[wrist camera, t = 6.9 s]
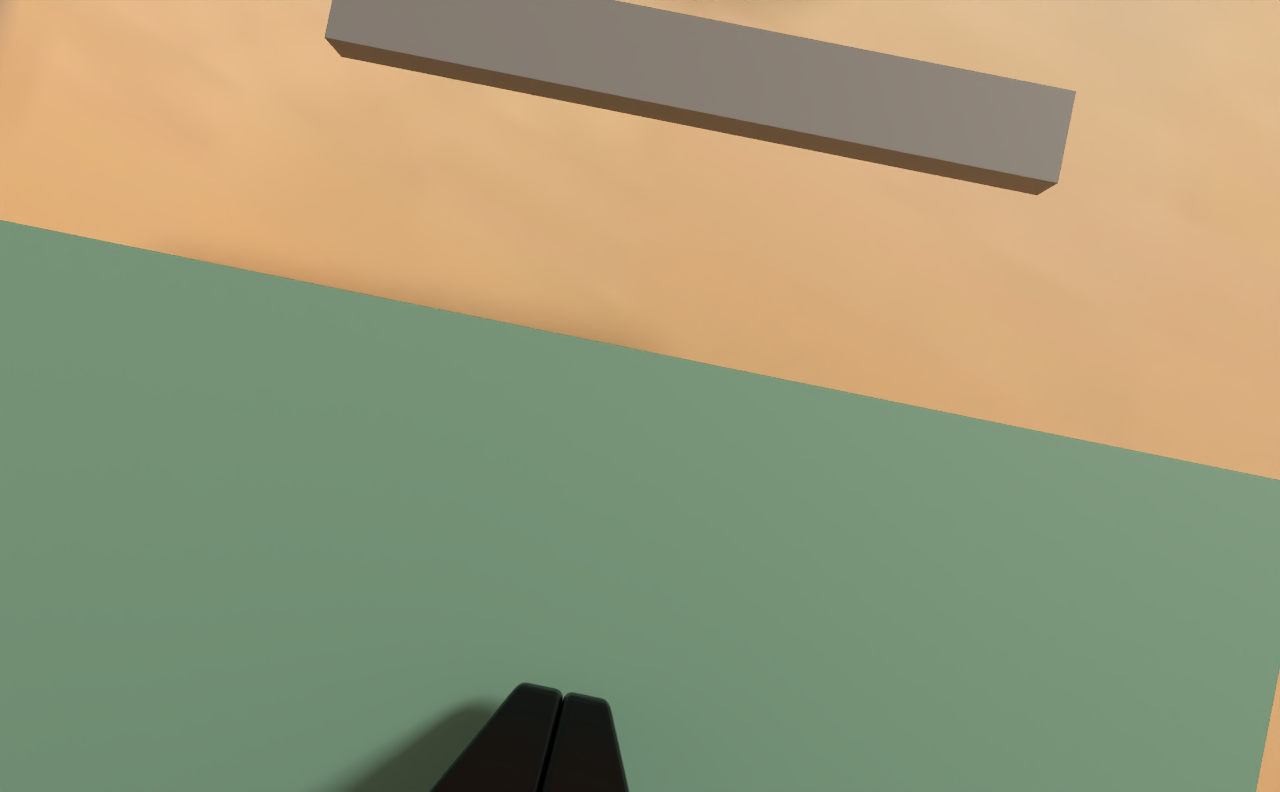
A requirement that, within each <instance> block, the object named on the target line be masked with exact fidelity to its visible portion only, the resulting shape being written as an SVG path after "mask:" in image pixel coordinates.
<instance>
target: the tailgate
mask: <svg viewBox="0 0 1280 792" xmlns="http://www.w3.org/2000/svg"><path fill="white" fill-rule="evenodd" d="M325 38H326V39H327V41H328V42H329V43H330V44H331V45H332V46H333V48H334V49H335V50H336V51H337V52H338V53H339V54H340V56H341V57H346V58H351V59H356V60H361V61H366V62H371V63H376V64H381V65H386V66H391V67H396V68H401V69H406V70H411V71H416V72H421V73H426V74H431V75H436V76H441V77H446V78H451V79H456V80H461V81H466V82H471V83H476V84H481V85H486V86H491V87H496V88H501V89H507V90H512V91H517V92H522V93H527V94H532V95H537V96H542V97H547V98H552V99H557V100H562V101H567V102H572V103H577V104H582V105H587V106H592V107H597V108H602V109H607V110H612V111H617V112H622V113H627V114H632V115H637V116H642V117H647V118H652V119H657V120H662V121H667V122H672V123H677V124H682V125H687V126H692V127H697V128H702V129H707V130H712V131H717V132H722V133H728V134H733V135H738V136H743V137H748V138H753V139H758V140H763V141H768V142H773V143H778V144H783V145H788V146H793V147H798V148H803V149H808V150H813V151H818V152H823V153H828V154H833V155H838V156H843V157H848V158H853V159H858V160H863V161H868V162H873V163H878V164H883V165H888V166H893V167H898V168H903V169H908V170H913V171H918V172H923V173H928V174H933V175H938V176H943V177H948V178H954V179H959V180H964V181H969V182H974V183H979V184H984V185H989V186H994V187H999V188H1004V189H1009V190H1014V191H1019V192H1024V193H1029V194H1034V195H1038V194H1040V193H1042V192H1043V191H1045V190H1047V189H1048V188H1050V187H1052V186H1054V185H1055V184H1057V183H1058V179H1059V174H1060V169H1061V164H1062V159H1063V154H1064V149H1065V144H1066V139H1067V134H1068V129H1069V124H1070V119H1071V114H1072V109H1073V104H1074V98H1075V93H1076V91H1071V90H1066V89H1061V88H1056V87H1051V86H1046V85H1041V84H1036V83H1031V82H1026V81H1021V80H1016V79H1011V78H1005V77H1000V76H995V75H990V74H985V73H980V72H975V71H970V70H965V69H960V68H955V67H950V66H945V65H940V64H934V63H929V62H924V61H919V60H914V59H909V58H904V57H899V56H894V55H889V54H884V53H879V52H874V51H868V50H863V49H858V48H853V47H848V46H843V45H838V44H833V43H828V42H823V41H818V40H813V39H808V38H803V37H797V36H792V35H787V34H782V33H777V32H772V31H767V30H762V29H757V28H752V27H747V26H742V25H737V24H732V23H726V22H721V21H716V20H711V19H706V18H701V17H696V16H691V15H686V14H681V13H676V12H671V11H666V10H660V9H655V8H650V7H645V6H640V5H635V4H630V3H625V2H620V1H615V0H332V5H331V9H330V14H329V19H328V24H327V28H326V33H325ZM1279 669H1280V480H1276V479H1271V478H1266V477H1262V476H1257V475H1252V474H1247V473H1242V472H1237V471H1232V470H1227V469H1222V468H1217V467H1212V466H1207V465H1203V464H1198V463H1193V462H1188V461H1183V460H1178V459H1173V458H1168V457H1163V456H1158V455H1153V454H1148V453H1144V452H1139V451H1134V450H1129V449H1124V448H1119V447H1114V446H1109V445H1104V444H1099V443H1094V442H1089V441H1084V440H1080V439H1075V438H1070V437H1065V436H1060V435H1055V434H1050V433H1045V432H1040V431H1035V430H1030V429H1025V428H1021V427H1016V426H1011V425H1006V424H1001V423H996V422H991V421H986V420H981V419H976V418H971V417H966V416H962V415H957V414H952V413H947V412H942V411H937V410H932V409H927V408H922V407H917V406H912V405H907V404H903V403H898V402H893V401H888V400H883V399H878V398H873V397H868V396H863V395H858V394H853V393H848V392H844V391H839V390H834V389H829V388H824V387H819V386H814V385H809V384H804V383H799V382H794V381H789V380H784V379H780V378H775V377H770V376H765V375H760V374H755V373H750V372H745V371H740V370H735V369H730V368H725V367H721V366H716V365H711V364H706V363H701V362H696V361H691V360H686V359H681V358H676V357H671V356H666V355H662V354H657V353H652V352H647V351H642V350H637V349H632V348H627V347H622V346H617V345H612V344H607V343H603V342H598V341H593V340H588V339H583V338H578V337H573V336H568V335H563V334H558V333H553V332H548V331H544V330H539V329H534V328H529V327H524V326H519V325H514V324H509V323H504V322H499V321H494V320H489V319H484V318H480V317H475V316H470V315H465V314H460V313H455V312H450V311H445V310H440V309H435V308H430V307H425V306H421V305H416V304H411V303H406V302H401V301H396V300H391V299H386V298H381V297H376V296H371V295H366V294H362V293H357V292H352V291H347V290H342V289H337V288H332V287H327V286H322V285H317V284H312V283H307V282H303V281H298V280H293V279H288V278H283V277H278V276H273V275H268V274H263V273H258V272H253V271H248V270H244V269H239V268H234V267H229V266H224V265H219V264H214V263H209V262H204V261H199V260H194V259H189V258H184V257H180V256H175V255H170V254H165V253H160V252H155V251H150V250H145V249H140V248H135V247H130V246H125V245H121V244H116V243H111V242H106V241H101V240H96V239H91V238H86V237H81V236H76V235H71V234H66V233H62V232H57V231H52V230H47V229H42V228H37V227H32V226H27V225H22V224H17V223H12V222H7V221H3V220H0V792H428V791H429V790H430V789H431V788H432V786H433V785H434V784H435V783H436V782H437V780H438V779H439V778H440V777H441V776H442V774H443V773H444V772H445V771H446V770H447V768H448V767H449V766H450V765H451V764H452V762H453V761H454V760H455V759H456V758H457V756H458V755H459V754H460V753H461V752H462V750H463V749H464V748H465V747H466V746H467V744H468V743H469V742H470V741H471V740H472V738H473V737H474V736H475V735H476V734H477V732H478V731H479V730H480V729H481V728H482V726H483V725H484V724H485V723H486V722H487V720H488V719H489V718H490V717H491V716H492V714H493V713H494V712H495V711H496V710H497V708H498V707H499V706H500V705H501V704H502V702H503V701H504V700H505V699H506V698H507V696H508V695H509V694H510V693H511V692H512V691H513V689H514V688H515V687H517V686H518V685H519V684H521V683H524V682H528V683H532V684H537V685H542V686H547V687H551V688H556V689H558V690H560V691H561V692H562V695H563V698H564V696H565V695H566V694H568V693H570V692H575V693H580V694H585V695H589V696H594V697H599V698H603V699H605V700H606V701H607V702H608V703H609V705H610V707H611V711H612V715H613V720H614V724H615V729H616V733H617V738H618V742H619V747H620V751H621V756H622V760H623V765H624V769H625V774H626V778H627V783H628V787H629V792H1256V788H1257V783H1258V778H1259V773H1260V767H1261V762H1262V757H1263V752H1264V747H1265V741H1266V736H1267V731H1268V726H1269V721H1270V715H1271V710H1272V705H1273V700H1274V695H1275V690H1276V684H1277V679H1278V674H1279Z"/></svg>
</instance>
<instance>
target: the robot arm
mask: <svg viewBox="0 0 1280 792" xmlns="http://www.w3.org/2000/svg"><path fill="white" fill-rule="evenodd" d="M428 792H629V787H628V783H627V778H626V774H625V769H624V765H623V760H622V756H621V751H620V747H619V742H618V738H617V733H616V729H615V724H614V720H613V715H612V711H611V707H610V705H609V703H608V702H607V701H606V700H605V699H603V698H599V697H594V696H589V695H585V694H580V693H575V692H570V693H568V694H566V695H565V696H564V698H563V695H562V692H561V691H560V690H558V689H556V688H551V687H547V686H542V685H537V684H532V683H528V682H524V683H521V684H519V685H518V686H517V687H515V688H514V689H513V691H512V692H511V693H510V694H509V695H508V696H507V698H506V699H505V700H504V701H503V702H502V704H501V705H500V706H499V707H498V708H497V710H496V711H495V712H494V713H493V714H492V716H491V717H490V718H489V719H488V720H487V722H486V723H485V724H484V725H483V726H482V728H481V729H480V730H479V731H478V732H477V734H476V735H475V736H474V737H473V738H472V740H471V741H470V742H469V743H468V744H467V746H466V747H465V748H464V749H463V750H462V752H461V753H460V754H459V755H458V756H457V758H456V759H455V760H454V761H453V762H452V764H451V765H450V766H449V767H448V768H447V770H446V771H445V772H444V773H443V774H442V776H441V777H440V778H439V779H438V780H437V782H436V783H435V784H434V785H433V786H432V788H431V789H430V790H429V791H428Z"/></svg>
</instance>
